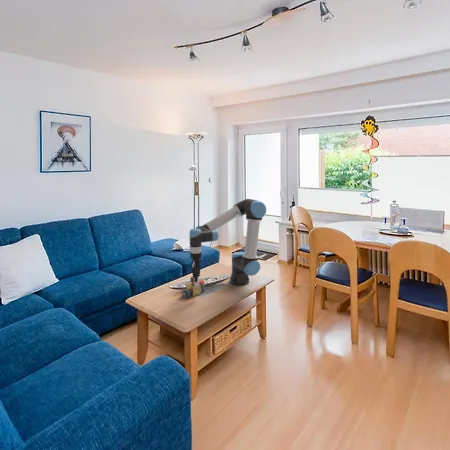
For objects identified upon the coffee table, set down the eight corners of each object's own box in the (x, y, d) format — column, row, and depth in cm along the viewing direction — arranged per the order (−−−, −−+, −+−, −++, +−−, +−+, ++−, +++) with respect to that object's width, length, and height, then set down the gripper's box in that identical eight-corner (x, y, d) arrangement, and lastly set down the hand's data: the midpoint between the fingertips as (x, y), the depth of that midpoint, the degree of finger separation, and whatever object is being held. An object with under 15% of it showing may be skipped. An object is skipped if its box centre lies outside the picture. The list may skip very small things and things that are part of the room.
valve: (200, 288, 231) (200, 276, 229) (206, 291, 226) (206, 279, 224) (180, 296, 219) (179, 283, 217) (186, 299, 214) (186, 286, 212)
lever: (189, 281, 221) (189, 277, 220) (193, 279, 223) (193, 276, 223) (200, 285, 212) (200, 282, 212) (205, 284, 215) (204, 280, 215)
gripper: (193, 249, 215) (195, 281, 220) (186, 254, 203) (188, 289, 208) (204, 249, 213) (205, 282, 218) (197, 255, 201) (198, 290, 206)
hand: (196, 285), depth 213 cm, fingers closed
